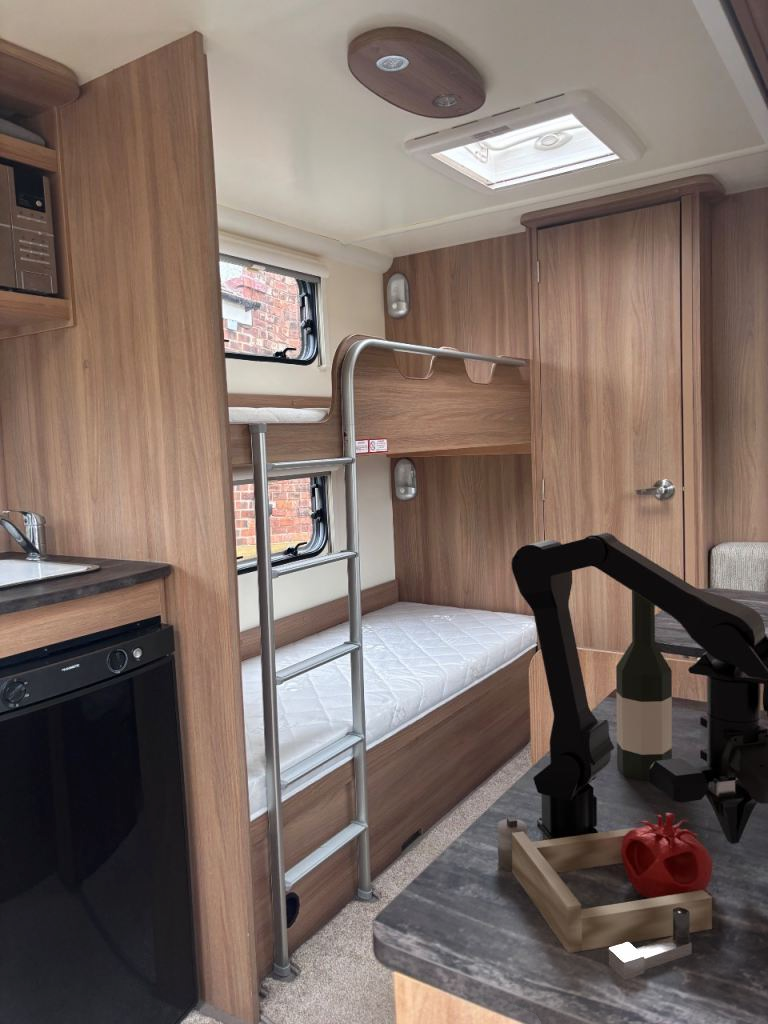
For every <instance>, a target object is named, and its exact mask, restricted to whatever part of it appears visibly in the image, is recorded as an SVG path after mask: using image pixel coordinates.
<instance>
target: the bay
mask: <svg viewBox="0 0 768 1024" xmlns="http://www.w3.org/2000/svg"><path fill="white" fill-rule="evenodd" d="M633 829H637V828H636V827H631V828H624V829H617V830H609V831H602V832H599V833H593V834H586V835H579V836H572V837H564V838H557V839H551V838H550V839H545V840H538V841H537V840H536V841H531V840H530V838H529V837H528V831H527V830H528V827H527V824H526V822H525V821H523V820H521V819H517V818H516V817H515V816H511V817H506V818H504V819H502V820H500V821H498V822H497V853H498V854H497V856H498V860H497V861H498V862H497V863H498V867H500V868H501V869H503V870H505V871H508V872H512V873H513V875H514V876H515V878H516V880H517V881H518V882H519V884H520V885H521V887H522V888H523V890H524V891H525V893H526V894H527V896H528V897H529V898H530V900H531V901H532V903H533V904H534V905H535V907H536V909H537V910H538V911H539V913H540V914H541V916H542V917H543V918H544V920H545V922H546V923H547V924H548V926H549V927H550V929H551V931H552V932H553V933H554V935H555V936H556V937H557V939H558V940H559V942H560V943H561V945H562V946H563V947H564V949H565V951H566V952H567V954H572V953H579V952H584V951H589V950H596V949H601V948H608V947H614V946H617V945H620V944H624V943H627V942H629V943H630V944H632V943H636V942H644V941H649V940H654V939H661V938H666V937H667V938H668V937H673V909H674V908H677V907H680V908H684V909H686V910H688V911H689V913H690V934H691V933H697V932H701V931H707V930H712V929H713V909H712V908H713V898H712V896H711V895H709V893H708V892H706V891H704V890H700V891H694V892H688V893H681V894H675V895H669V896H663V897H656V898H650V899H648V898H645V899H639V900H632V901H627V902H619V903H613V904H607V905H599V906H594V907H588V908H583V909H582V904H581V902H580V900H578V899H577V897H576V896H575V895H574V893H573V892H572V891H571V889H569V887H568V886H567V885H566V884H565V882H564V881H563V880H562V878H561V877H560V876H559V875H558V873H564V872H571V871H577V870H578V871H579V870H585V869H590V868H591V869H592V868H599V867H604V866H611V865H618V864H623V862H622V853H621V847H622V841H623V837H624V836H625V835H626V834H627V833H628V832H629V831H631V830H633Z"/></svg>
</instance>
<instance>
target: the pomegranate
mask: <svg viewBox="0 0 768 1024" xmlns="http://www.w3.org/2000/svg"><path fill="white" fill-rule="evenodd" d="M653 816H654V817H655V818H657V823H655V824H653V823H652V822H649V821H647V820H643V821H638V822H635V824H636V825H638V824H645V825H643V826H641V827H637V828H636V829H633V830H631V831H629V832H628V833H627V834H626V835H625V836H624V837H623V841H622V847H621V853H622V862H623V863H622V866H623V868H624V872H625V873H626V876H627V878H628V881H629V882H630V885H631V886H632V888H633V889H634V890H635V891H636V892H637V893H639V895H641V896H643V897H644V898H645V899H650V898H656V897H663V896H669V895H675V894H681V893H688V892H694V891H700V890H704V891H705V892H706V891H707V889H708V887H709V884H710V883H711V880H712V874H713V869H714V868H713V867H714V864H713V858H712V856H711V854H710V852H709V851H708V850H707V848H706V847H705V846H704V845H703V844H702V842H700V841H699V840H698V839H697V838H696V837H697V836H698V835H699V834H698V833H694V832H692V830H689V829H682V828H680V826H681V825H682V824H683V823H686V822H688V821H689V820H690V819H689V818H687V819H683V820H682V819H681V821H679V822H677V823H676V824H674V825H673V823H674V821H675V820H676V814H674V813H672V812H665V822H664V820H663V817H662V815H661V814H656V815H655V814H653Z"/></svg>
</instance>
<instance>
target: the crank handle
mask: <svg viewBox="0 0 768 1024" xmlns="http://www.w3.org/2000/svg"><path fill="white" fill-rule="evenodd" d="M690 934H691V933H690V913H689V911H688V910H686V909H684V908H680V907H677V908H674V909H673V936H669V937H667V938H666V937H665V938H664V939H661V940H657V941H654V942H652V943H649V944H648V943H647V944H645V945H642V946H639V947H635V946H633V944H632V943H629V942H627V943H624V944H620V945H614V946H610V947H609V948H608V966H609V967H610V968H612V969H613V970H614V971H615V973H617V974H618V975H619V976H620V977H621V978H622V979H623V980H625V981H626V980H628V979H632V978H634V977H637V976H640V975H643V974H645V970H647V969H651V968H653V967H656V966H657V967H658V966H659V965H662V964H666V963H668V962H671V961H675V960H678V959H680V958H684V957H687V956H690V955H692V948H693V946H692V941H690V939H691V938H690V936H691V935H690Z"/></svg>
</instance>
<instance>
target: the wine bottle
mask: <svg viewBox="0 0 768 1024" xmlns="http://www.w3.org/2000/svg"><path fill="white" fill-rule="evenodd" d="M655 607H656V606H655V605H654V604H652V603H650V602H649V601H647V600H646V599H644V598H643V597H641V596H640V595H638V594H636V593H635V592H633V591H632V590H631V635H632V636H631V638H632V639H631V643H630V644H629V646H628V647H627V649H626V650H625V652H624V653H623V655H622V656H621V658H620V659H619V660H618V662H617V664H616V666H615V667H616V668H615V669H616V674H615V675H616V677H615V679H616V683H615V684H616V690H615V691H616V767H617V769H618V770H619V772H620V773H621V775H623V776H626V777H629V778H631V779H636V780H638V781H643V782H644V781H645V782H647V781H649V782H650V767H651V765H652V764H653V763H654V762H655V761H659V760H667V759H673V748H672V747H673V738H672V737H673V736H672V735H673V733H672V732H673V726H672V725H673V722H672V721H673V717H672V716H673V715H672V714H673V713H672V712H673V711H672V708H673V706H672V705H673V703H672V702H673V701H672V699H673V697H672V695H673V694H672V693H673V692H672V691H673V689H672V687H673V686H672V685H673V683H672V682H673V681H672V678H673V675H672V674H673V670H672V668H671V667H670V665H669V663H668V662H667V660H666V659H665V657H664V655H663V654H662V652H661V650H660V649H659V647H658V645H657V644H656V635H655V634H656V627H655V626H656V622H655V621H656V619H655V617H656V615H655V614H656V608H655Z"/></svg>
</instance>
